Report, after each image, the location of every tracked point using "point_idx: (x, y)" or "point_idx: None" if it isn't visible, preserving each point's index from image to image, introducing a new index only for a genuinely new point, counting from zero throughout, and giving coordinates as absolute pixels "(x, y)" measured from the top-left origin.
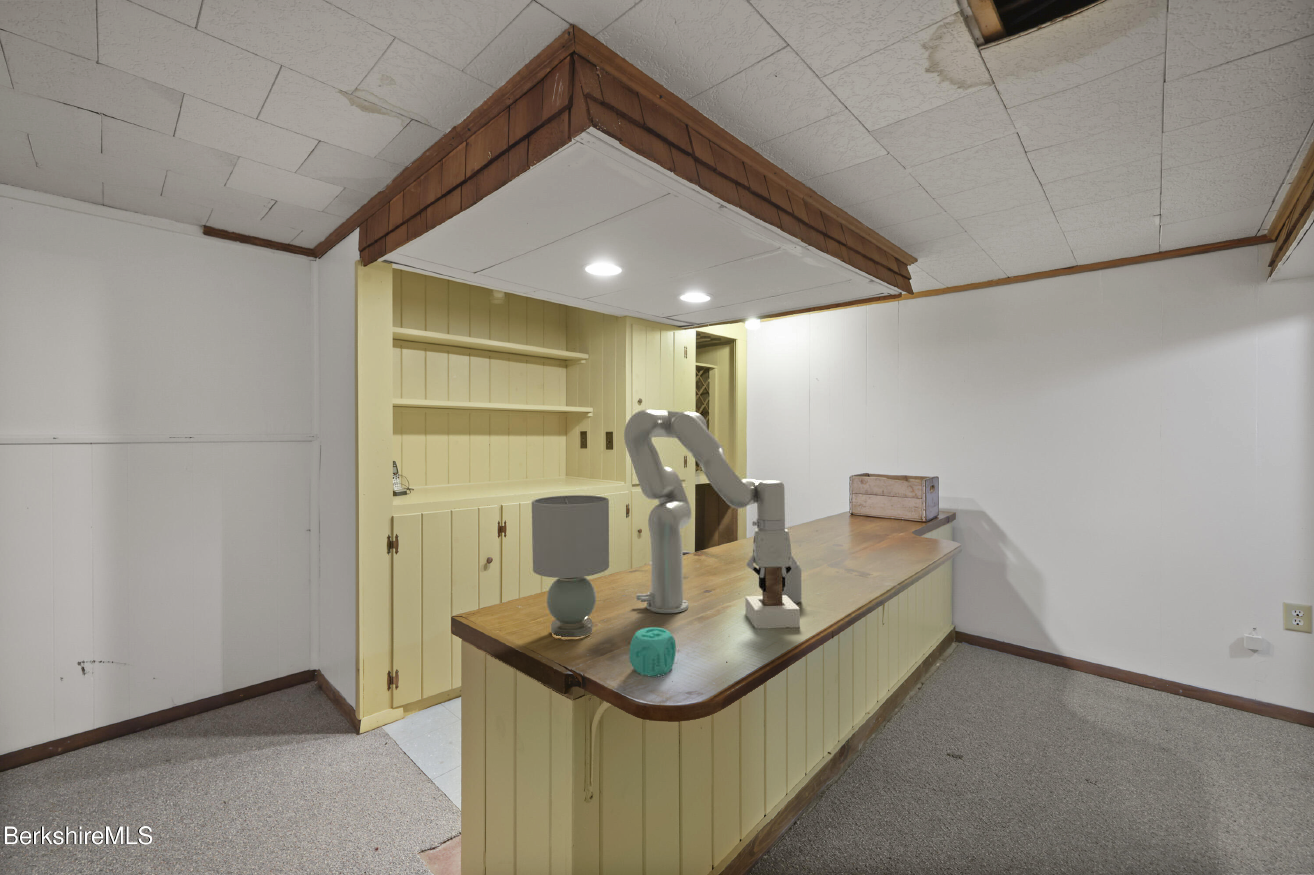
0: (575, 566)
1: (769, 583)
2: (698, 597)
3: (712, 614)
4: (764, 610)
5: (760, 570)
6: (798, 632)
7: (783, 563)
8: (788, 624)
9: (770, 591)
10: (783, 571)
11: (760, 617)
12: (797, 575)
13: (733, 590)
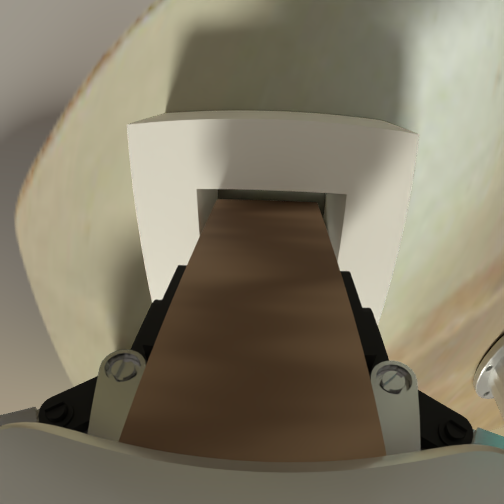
0: None
1: (314, 297)
2: None
3: (463, 301)
4: (364, 126)
5: (415, 428)
6: (191, 47)
7: (70, 478)
8: (216, 111)
9: (300, 252)
10: (122, 398)
11: (376, 123)
12: None
13: None
